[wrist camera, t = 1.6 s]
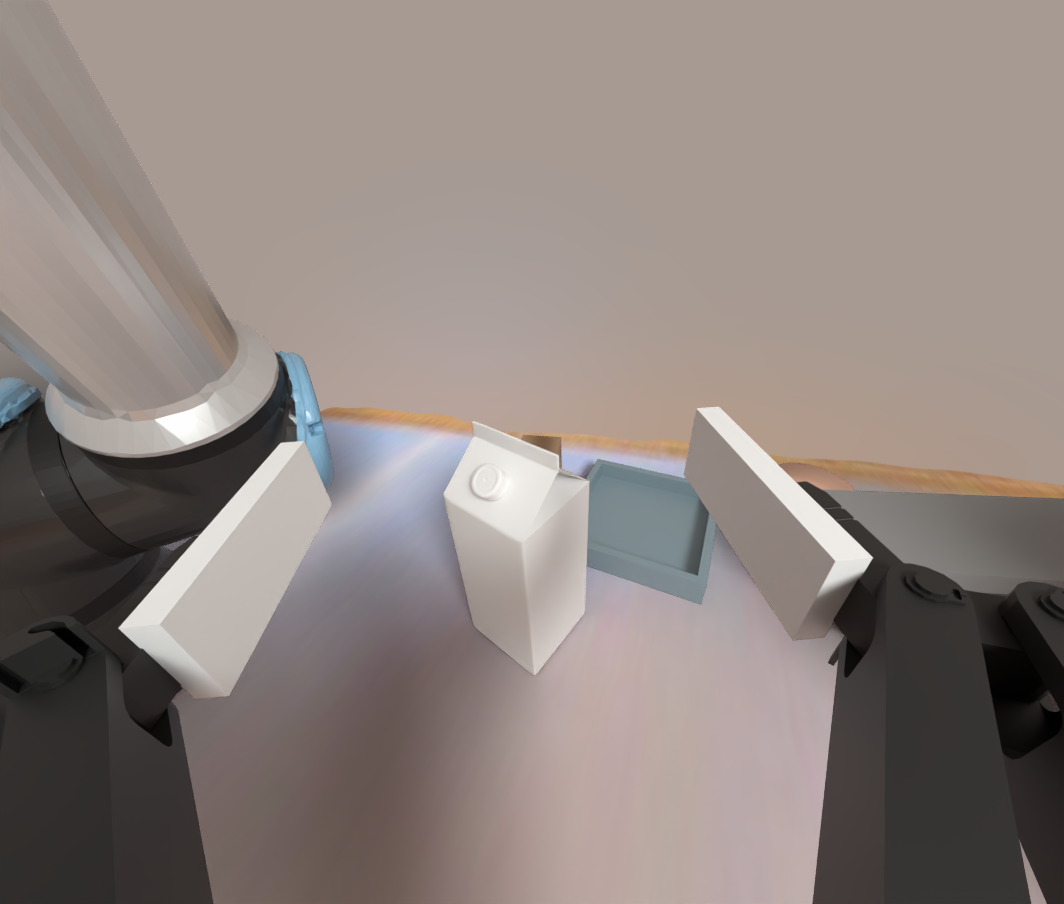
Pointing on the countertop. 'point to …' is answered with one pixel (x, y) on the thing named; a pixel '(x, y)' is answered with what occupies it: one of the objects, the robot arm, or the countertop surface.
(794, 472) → the peach round cylinder
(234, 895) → the countertop surface
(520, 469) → the milk carton
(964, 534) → the sharpening stone
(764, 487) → the robot arm
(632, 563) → the tray
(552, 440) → the walnut block
